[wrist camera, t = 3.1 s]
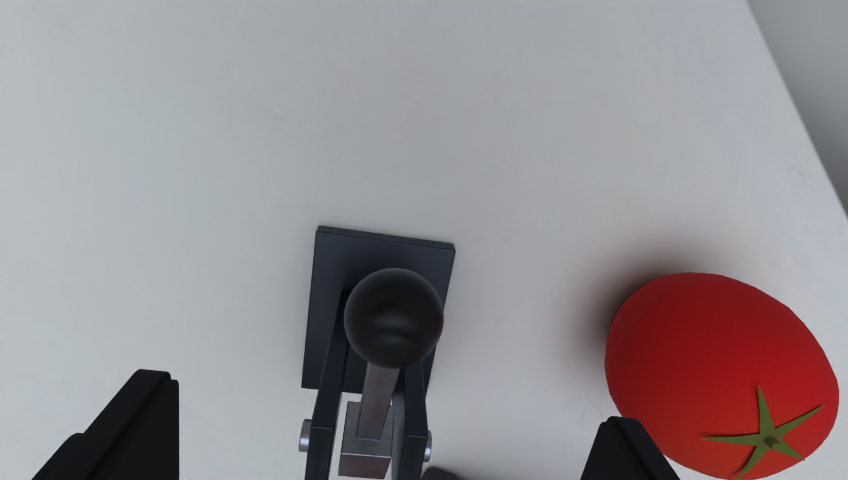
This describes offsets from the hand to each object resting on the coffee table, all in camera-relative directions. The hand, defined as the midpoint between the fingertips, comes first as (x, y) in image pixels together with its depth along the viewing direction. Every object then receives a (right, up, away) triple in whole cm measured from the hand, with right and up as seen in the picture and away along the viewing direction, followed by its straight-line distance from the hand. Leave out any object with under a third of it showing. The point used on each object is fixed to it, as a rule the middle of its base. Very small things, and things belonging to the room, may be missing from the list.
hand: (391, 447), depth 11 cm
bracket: (-3, -1, +23) cm, 23 cm away
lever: (-1, 0, +10) cm, 10 cm away
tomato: (+17, -1, +25) cm, 30 cm away
